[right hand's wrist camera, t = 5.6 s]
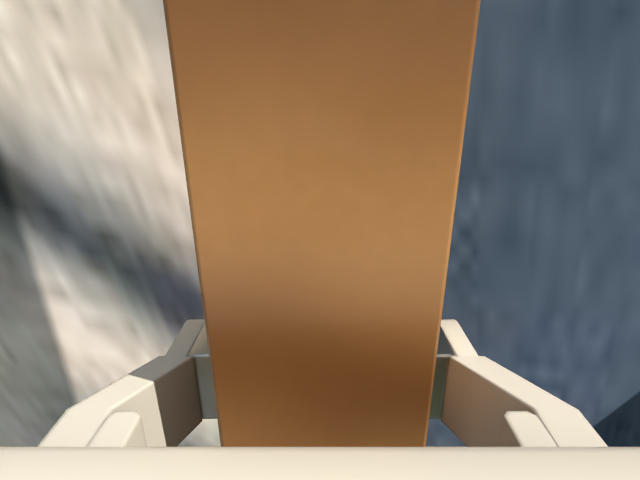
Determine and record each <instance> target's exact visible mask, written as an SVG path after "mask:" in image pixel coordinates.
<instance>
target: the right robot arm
mask: <svg viewBox="0 0 640 480" xmlns="http://www.w3.org/2000/svg"><path fill="white" fill-rule="evenodd" d="M216 418H217V412H216V404H215V396H214V389H213V381H212V373H211V366H210V358H209V350H208V343H207V335H206V327H205V320H204V319H202V320H187V321H186V322H185V323H184V325H183V327H182V328H181V330H180V332H179V333H178V335H177V337H176V339H175V340H174V342H173V344H172V345H171V347H170V349H169V350H168V352H167V354H166V355H165V356H159V357H157V358H155V359H154V360H152V361H150V362H148V363H147V364H145V365H143V366H141V367H140V368H138V369H136V370H134V371H133V372H131V373H129V374H127V375H126V376H124V377H122V378H120V379H119V380H117V381H115V382H113V383H112V384H110V385H108V386H107V387H105V388H103V389H101V390H100V391H98V392H96V393H94V394H93V395H91V396H89V397H87V398H86V399H84V400H82V401H80V402H79V403H77V404H75V405H73V406H72V407H70V408H68V409H67V410H66V411H65V412H64V413H63V415H62V416H61V417H60V418H59V419H58V421H57V422H56V423H55V424H54V426H53V427H52V428H51V429H50V431H49V432H48V433H47V434H46V436H45V437H44V438H43V439H42V441H41V442H40V443H39V444H38V446H37V447H0V480H640V447H608V446H607V445H606V443H605V442H604V441H603V440H602V438H601V437H600V436H599V435H598V434H597V432H596V431H595V430H594V429H593V427H592V426H591V425H590V424H589V422H588V421H587V420H586V419H585V417H584V416H583V415H582V414H581V413H580V411H579V410H578V409H576V408H574V407H572V406H571V405H569V404H567V403H565V402H564V401H562V400H560V399H558V398H557V397H555V396H553V395H551V394H550V393H548V392H546V391H544V390H543V389H541V388H539V387H537V386H536V385H534V384H532V383H530V382H528V381H527V380H525V379H523V378H521V377H520V376H518V375H516V374H514V373H513V372H511V371H509V370H507V369H506V368H504V367H502V366H500V365H499V364H497V363H495V362H493V361H492V360H490V359H488V358H486V357H485V356H478V355H477V353H476V351H475V350H474V348H473V347H472V345H471V343H470V342H469V340H468V338H467V337H466V335H465V333H464V332H463V330H462V329H461V327H460V325H459V324H458V322H457V321H456V320H454V319H448V320H441V325H440V333H439V341H438V349H437V357H436V365H435V373H434V381H433V389H432V397H431V405H430V414H429V419H441V421H442V422H443V423H444V424H445V425H446V426H447V427H448V428H449V429H450V430H451V431H452V432H453V433H454V434H455V435H456V436H457V437H458V438H459V439H460V440H461V441H462V442H463V443H464V444H465V445H466V446H467V447H176V446H177V445H178V444H179V443H180V442H181V441H182V440H183V439H184V438H185V437H186V436H187V435H188V434H189V433H191V432H192V431H193V430H194V429H195V428H196V427H197V426H198V425H199V424H200V423H201V422H202V419H216Z"/></svg>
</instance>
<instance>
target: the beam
mask: <svg viewBox="0 0 640 480" xmlns="http://www.w3.org/2000/svg"><path fill="white" fill-rule="evenodd" d="M480 1H481V0H163V5H164V13H165V20H166V28H167V36H168V43H169V51H170V59H171V66H172V74H173V82H174V89H175V97H176V105H177V113H178V120H179V128H180V136H181V143H182V151H183V159H184V166H185V174H186V182H187V189H188V197H189V205H190V212H191V220H192V228H193V235H194V243H195V251H196V258H197V266H198V274H199V281H200V289H201V297H202V304H203V312H204V320H205V327H206V335H207V343H208V350H209V358H210V366H211V373H212V381H213V389H214V396H215V404H216V412H217V419H218V427H219V435H220V442H221V447H425V446H426V438H427V430H428V422H429V414H430V405H431V397H432V389H433V381H434V373H435V365H436V357H437V349H438V341H439V333H440V325H441V316H442V308H443V300H444V292H445V284H446V276H447V268H448V260H449V252H450V244H451V236H452V227H453V219H454V211H455V203H456V195H457V187H458V179H459V171H460V163H461V155H462V147H463V138H464V130H465V122H466V114H467V106H468V98H469V90H470V82H471V74H472V66H473V58H474V49H475V41H476V33H477V25H478V17H479V9H480Z"/></svg>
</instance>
